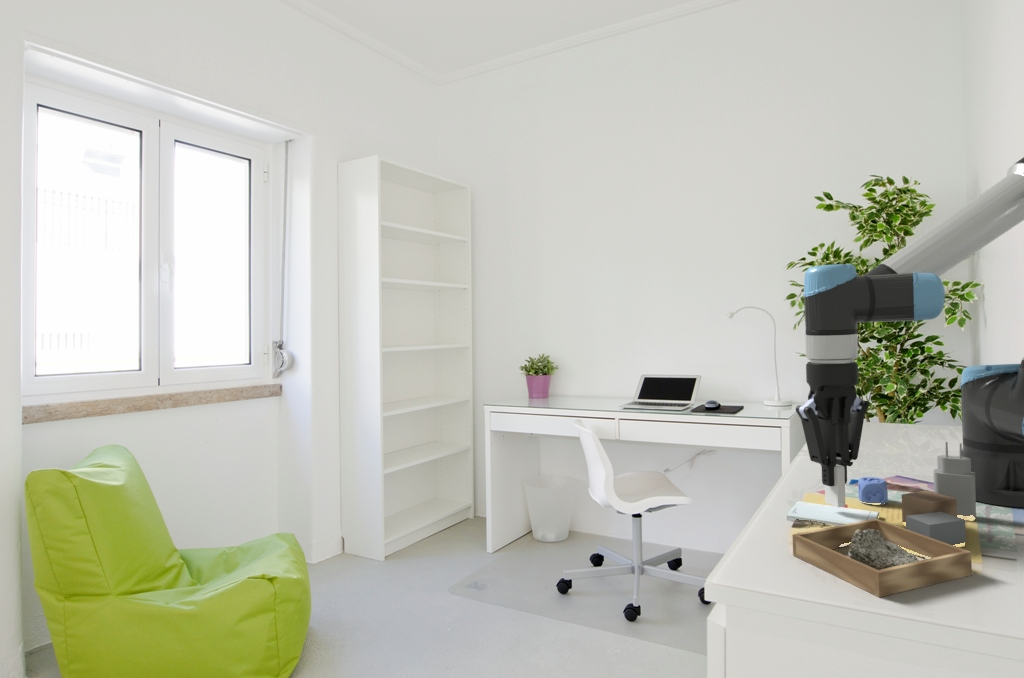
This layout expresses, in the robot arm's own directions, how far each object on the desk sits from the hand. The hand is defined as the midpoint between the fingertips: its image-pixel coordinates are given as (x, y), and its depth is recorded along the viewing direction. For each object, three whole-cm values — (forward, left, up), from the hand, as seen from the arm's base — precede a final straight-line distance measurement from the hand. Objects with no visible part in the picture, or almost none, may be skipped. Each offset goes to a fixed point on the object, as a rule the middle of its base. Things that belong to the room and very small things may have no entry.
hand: (835, 504), depth 102 cm
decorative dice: (-12, -4, -3) cm, 13 cm away
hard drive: (0, 0, -3) cm, 3 cm away
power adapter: (-17, +7, -3) cm, 19 cm away
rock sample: (+9, +18, -3) cm, 20 cm away
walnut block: (-9, +9, -3) cm, 13 cm away
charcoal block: (-4, +14, -3) cm, 15 cm away
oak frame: (+9, +16, -2) cm, 19 cm away
